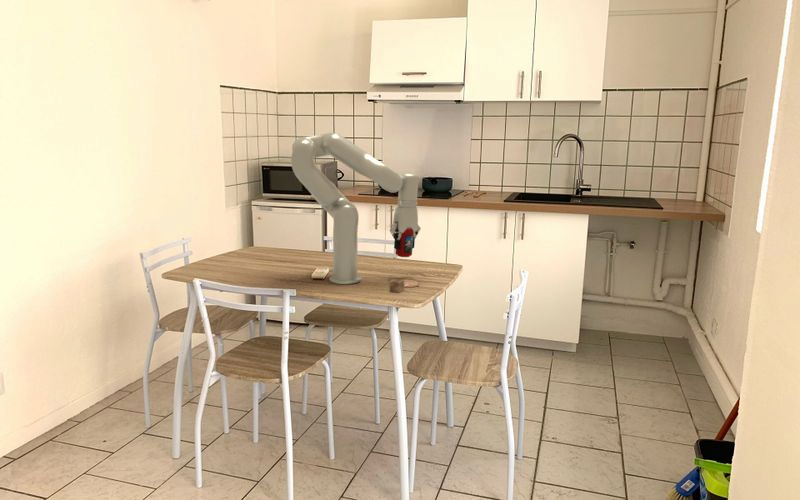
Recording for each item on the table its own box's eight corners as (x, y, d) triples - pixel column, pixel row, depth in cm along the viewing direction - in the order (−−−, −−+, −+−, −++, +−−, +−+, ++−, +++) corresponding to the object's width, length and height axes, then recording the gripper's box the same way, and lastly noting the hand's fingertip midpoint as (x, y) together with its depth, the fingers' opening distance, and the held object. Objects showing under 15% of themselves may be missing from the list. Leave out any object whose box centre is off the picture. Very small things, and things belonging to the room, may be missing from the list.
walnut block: (389, 291, 222) (389, 281, 221) (394, 289, 226) (394, 279, 225) (399, 293, 220) (399, 282, 219) (404, 290, 224) (404, 280, 223)
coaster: (387, 283, 233) (387, 282, 233) (406, 279, 239) (406, 278, 239) (404, 289, 226) (404, 287, 225) (423, 284, 232) (423, 283, 232)
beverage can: (410, 258, 236) (412, 228, 234) (393, 256, 237) (395, 227, 235) (413, 255, 243) (415, 226, 240) (397, 253, 244) (399, 224, 242)
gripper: (416, 202, 244) (413, 245, 248) (384, 203, 233) (381, 248, 236) (429, 205, 239) (425, 248, 242) (397, 206, 227) (394, 251, 231)
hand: (404, 248), depth 239 cm, fingers closed on beverage can, 6 cm apart
